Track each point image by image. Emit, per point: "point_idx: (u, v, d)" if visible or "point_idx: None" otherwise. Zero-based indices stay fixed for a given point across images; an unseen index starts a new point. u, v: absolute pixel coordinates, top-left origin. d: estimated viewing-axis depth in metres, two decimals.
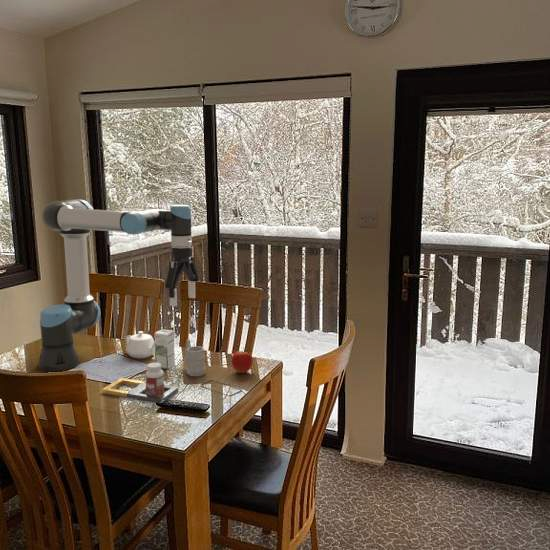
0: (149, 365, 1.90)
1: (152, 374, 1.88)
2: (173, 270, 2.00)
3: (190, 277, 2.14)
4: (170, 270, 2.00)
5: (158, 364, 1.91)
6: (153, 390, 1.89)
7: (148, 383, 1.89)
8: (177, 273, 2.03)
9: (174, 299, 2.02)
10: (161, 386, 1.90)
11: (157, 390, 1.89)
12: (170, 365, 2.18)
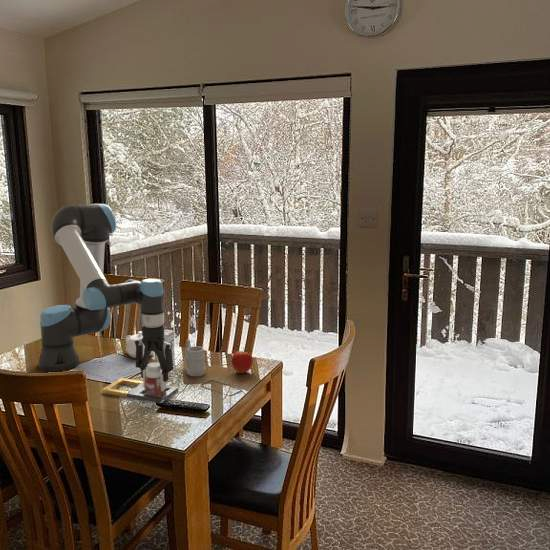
0: (149, 365, 1.90)
1: (152, 374, 1.88)
2: None
3: None
4: None
5: (158, 364, 1.91)
6: (153, 390, 1.89)
7: (148, 383, 1.89)
8: None
9: None
10: None
11: (157, 390, 1.89)
12: None
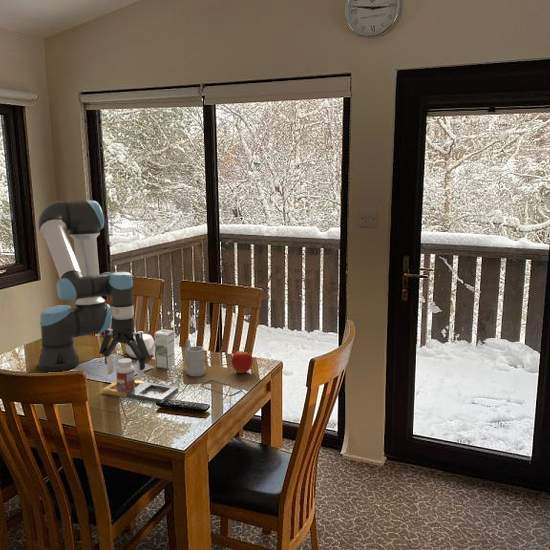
0: (120, 361, 1.93)
1: (122, 370, 1.92)
2: None
3: None
4: None
5: (129, 360, 1.94)
6: (124, 385, 1.93)
7: (118, 378, 1.93)
8: None
9: None
10: (131, 381, 1.94)
11: (127, 385, 1.93)
12: (170, 365, 2.18)
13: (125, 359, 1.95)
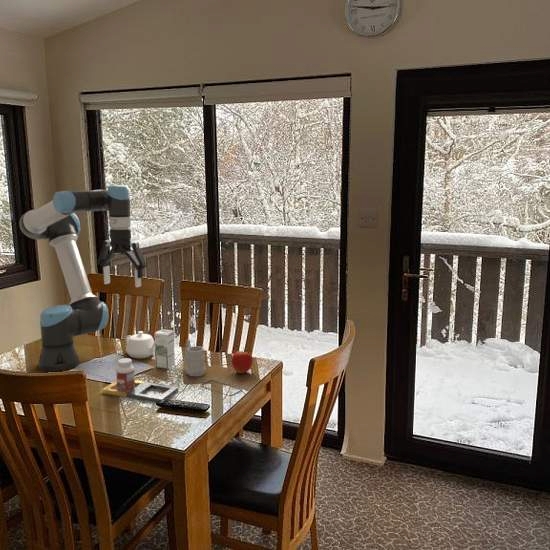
0: (120, 361, 1.93)
1: (122, 370, 1.92)
2: None
3: None
4: None
5: (128, 360, 1.94)
6: (124, 385, 1.93)
7: (118, 378, 1.93)
8: None
9: None
10: (131, 381, 1.94)
11: (127, 385, 1.93)
12: (170, 365, 2.18)
13: (125, 359, 1.95)
